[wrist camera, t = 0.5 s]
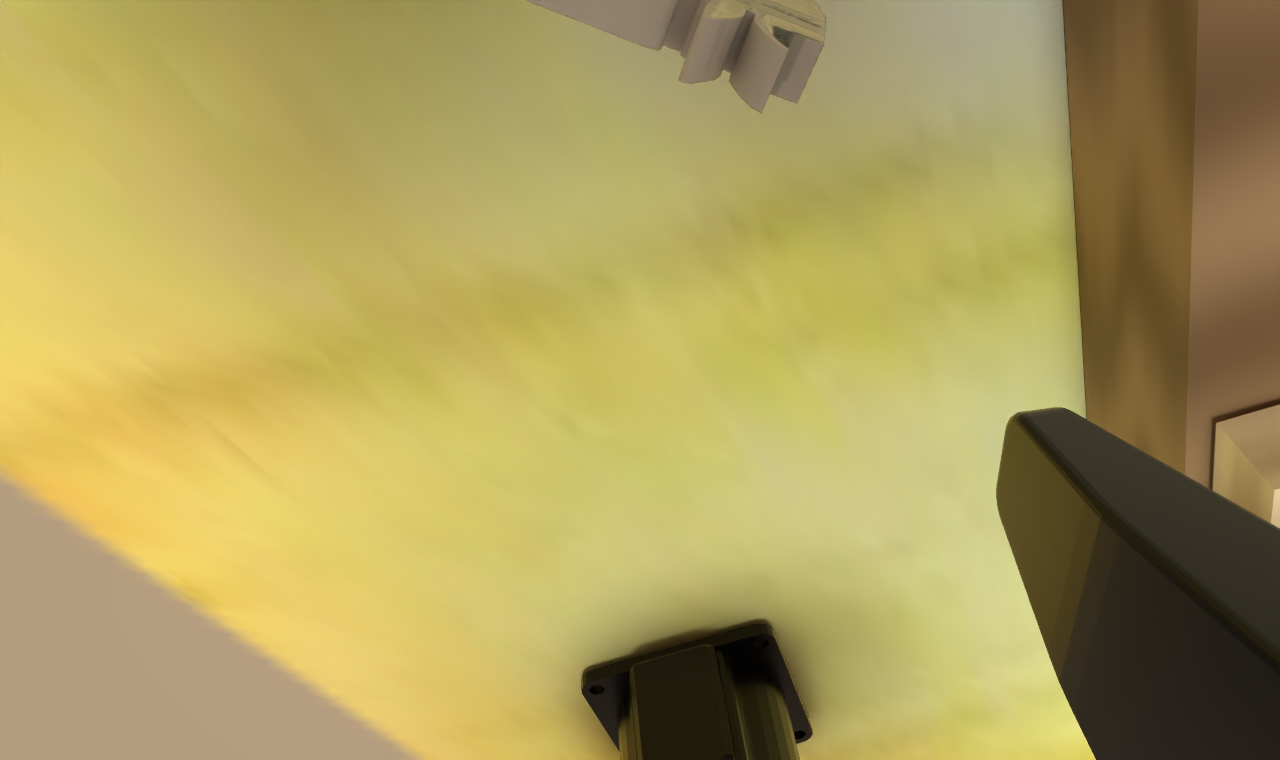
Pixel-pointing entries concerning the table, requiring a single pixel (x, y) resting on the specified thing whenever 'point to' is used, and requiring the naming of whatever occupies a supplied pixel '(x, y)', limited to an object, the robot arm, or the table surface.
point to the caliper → (718, 38)
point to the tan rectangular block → (1250, 462)
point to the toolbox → (1176, 216)
